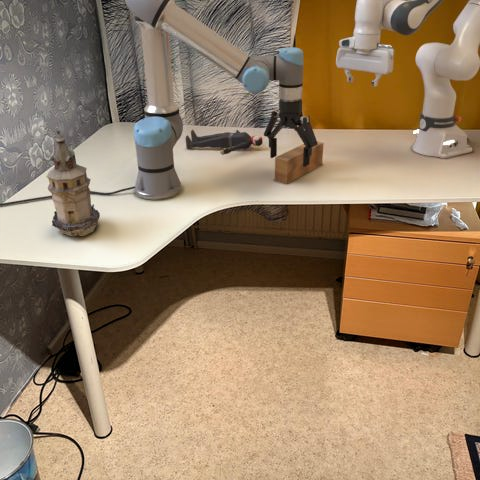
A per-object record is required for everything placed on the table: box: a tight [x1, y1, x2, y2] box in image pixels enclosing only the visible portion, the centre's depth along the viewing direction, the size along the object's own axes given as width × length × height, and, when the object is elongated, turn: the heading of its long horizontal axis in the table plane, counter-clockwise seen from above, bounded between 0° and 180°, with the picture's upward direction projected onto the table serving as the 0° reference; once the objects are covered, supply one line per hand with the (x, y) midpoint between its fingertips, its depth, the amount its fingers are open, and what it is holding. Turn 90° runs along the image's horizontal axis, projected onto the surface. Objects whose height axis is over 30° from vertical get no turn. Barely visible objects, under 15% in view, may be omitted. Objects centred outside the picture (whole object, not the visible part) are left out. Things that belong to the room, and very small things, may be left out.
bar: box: [274, 140, 325, 185], centre depth 189 cm, size 22×5×8 cm, turn 140°
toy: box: [185, 129, 264, 156], centre depth 213 cm, size 26×6×30 cm
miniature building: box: [46, 129, 101, 237], centre depth 148 cm, size 13×14×30 cm
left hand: (289, 161), depth 183 cm, fingers open, 13 cm apart
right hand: (362, 84), depth 186 cm, fingers open, 8 cm apart
